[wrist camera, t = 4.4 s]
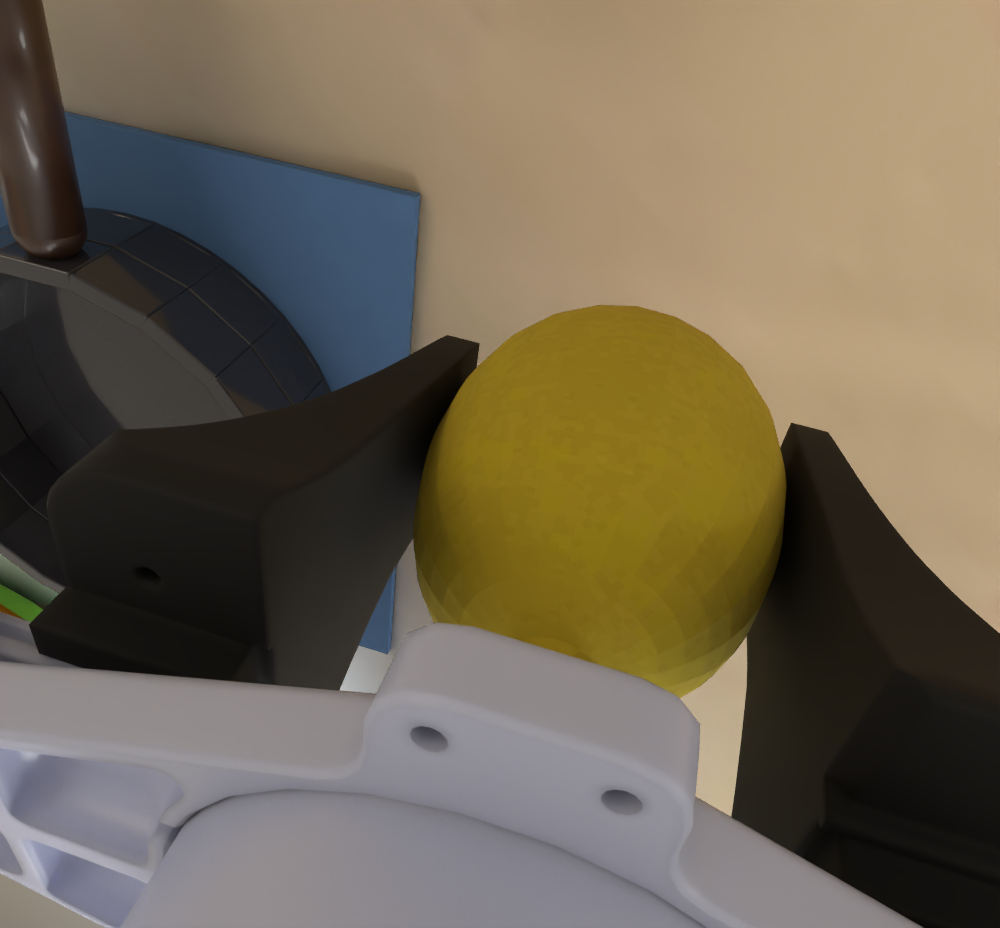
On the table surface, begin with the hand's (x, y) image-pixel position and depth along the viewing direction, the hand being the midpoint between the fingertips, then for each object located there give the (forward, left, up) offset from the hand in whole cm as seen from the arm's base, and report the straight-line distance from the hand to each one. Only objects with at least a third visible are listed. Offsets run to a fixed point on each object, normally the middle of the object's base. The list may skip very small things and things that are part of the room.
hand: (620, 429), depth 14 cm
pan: (-7, +14, -6) cm, 17 cm away
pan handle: (+3, +14, -4) cm, 15 cm away
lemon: (0, 0, -2) cm, 2 cm away
